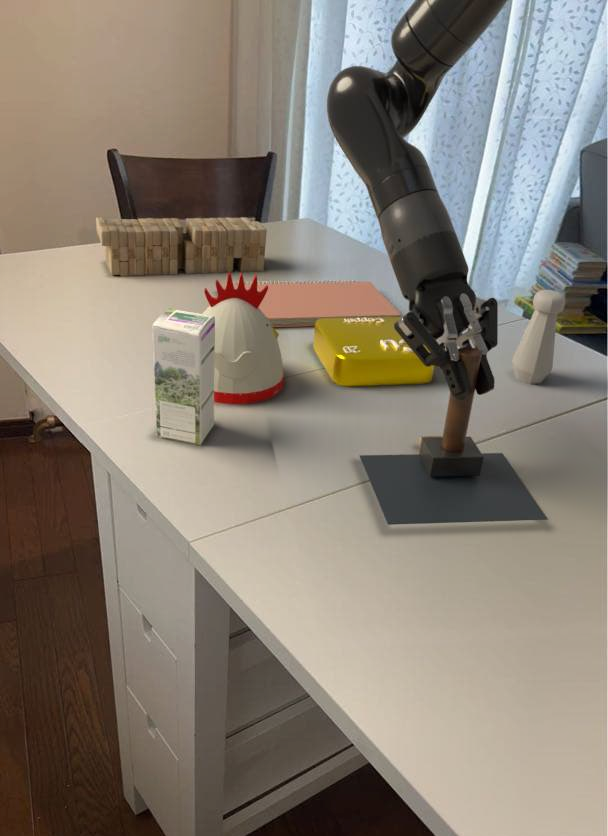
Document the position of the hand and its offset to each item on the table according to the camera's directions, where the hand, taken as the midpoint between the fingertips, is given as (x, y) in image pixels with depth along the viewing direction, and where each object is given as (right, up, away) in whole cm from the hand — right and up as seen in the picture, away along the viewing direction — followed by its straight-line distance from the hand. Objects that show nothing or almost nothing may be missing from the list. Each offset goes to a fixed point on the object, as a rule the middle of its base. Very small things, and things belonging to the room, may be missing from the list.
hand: (475, 394), depth 86 cm
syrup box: (-33, -3, +12) cm, 35 cm away
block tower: (-41, +34, +60) cm, 80 cm away
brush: (-2, -7, +7) cm, 10 cm away
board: (-2, -11, +5) cm, 12 cm away
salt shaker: (+15, +8, +32) cm, 36 cm away
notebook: (-18, +23, +48) cm, 56 cm away
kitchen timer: (-28, +6, +24) cm, 38 cm away
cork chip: (-2, -5, +11) cm, 12 cm away
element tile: (-9, +10, +32) cm, 35 cm away
